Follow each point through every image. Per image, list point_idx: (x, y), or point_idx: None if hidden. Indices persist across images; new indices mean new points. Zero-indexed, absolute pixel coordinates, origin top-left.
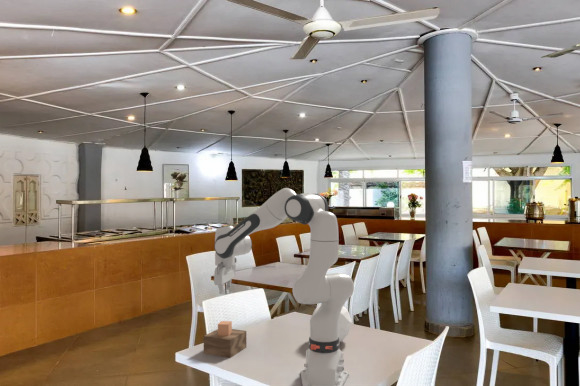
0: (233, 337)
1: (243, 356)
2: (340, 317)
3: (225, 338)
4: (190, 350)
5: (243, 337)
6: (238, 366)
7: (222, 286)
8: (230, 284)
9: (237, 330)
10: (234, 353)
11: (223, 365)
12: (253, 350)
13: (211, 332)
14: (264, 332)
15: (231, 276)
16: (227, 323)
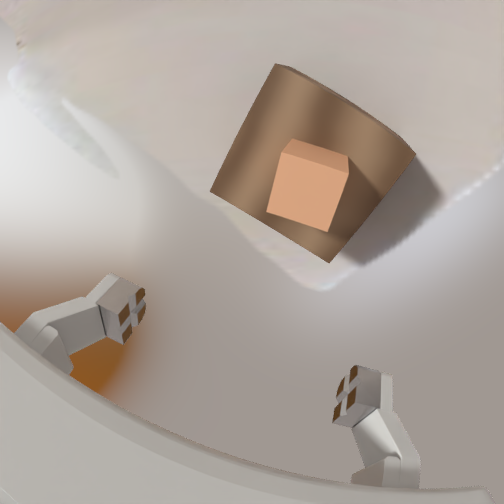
0: (381, 134)
1: (395, 86)
2: None
3: (387, 174)
4: (294, 266)
5: (306, 78)
6: (483, 122)
7: (419, 461)
8: (80, 304)
9: (263, 109)
10: (376, 119)
11: (463, 170)
12: (329, 40)
13: (282, 231)
14: (119, 24)
15: (23, 398)
16: (323, 178)
